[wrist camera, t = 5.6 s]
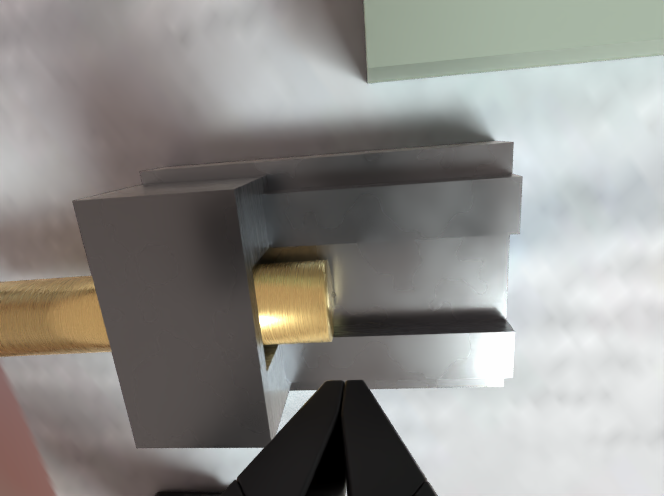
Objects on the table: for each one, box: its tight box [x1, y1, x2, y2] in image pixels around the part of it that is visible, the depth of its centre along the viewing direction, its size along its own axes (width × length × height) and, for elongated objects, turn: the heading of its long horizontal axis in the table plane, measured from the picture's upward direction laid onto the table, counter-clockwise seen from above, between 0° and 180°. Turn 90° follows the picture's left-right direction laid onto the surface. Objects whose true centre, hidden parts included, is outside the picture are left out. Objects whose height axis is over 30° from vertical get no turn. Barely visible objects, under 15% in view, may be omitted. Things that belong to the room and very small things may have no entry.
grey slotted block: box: [73, 141, 523, 448], centre depth 15 cm, size 10×14×6 cm
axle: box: [0, 260, 334, 357], centre depth 16 cm, size 3×14×3 cm, turn 96°
